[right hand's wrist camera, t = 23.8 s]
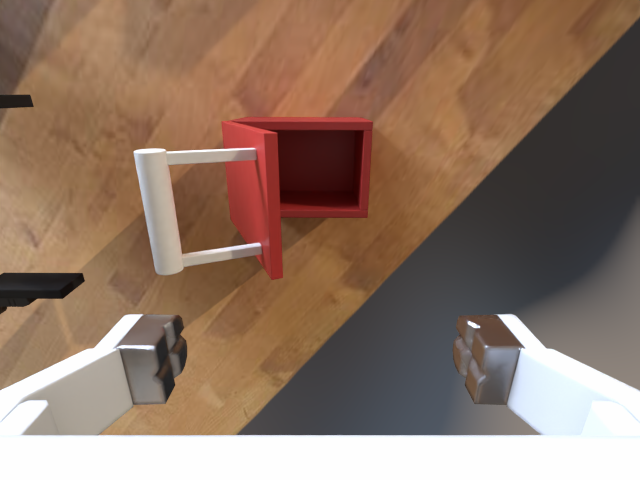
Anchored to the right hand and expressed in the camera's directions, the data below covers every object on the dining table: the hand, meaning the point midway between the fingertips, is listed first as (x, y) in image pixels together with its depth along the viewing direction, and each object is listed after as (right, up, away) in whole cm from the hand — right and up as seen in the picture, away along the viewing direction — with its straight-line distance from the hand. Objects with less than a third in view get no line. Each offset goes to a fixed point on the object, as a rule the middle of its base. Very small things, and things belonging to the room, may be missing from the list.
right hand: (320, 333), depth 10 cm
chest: (-2, +13, +33) cm, 36 cm away
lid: (-5, +7, +18) cm, 20 cm away
